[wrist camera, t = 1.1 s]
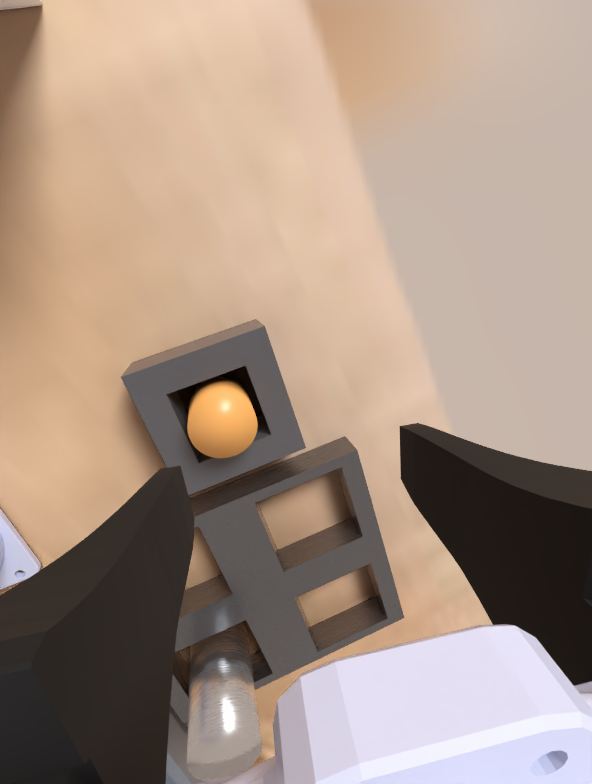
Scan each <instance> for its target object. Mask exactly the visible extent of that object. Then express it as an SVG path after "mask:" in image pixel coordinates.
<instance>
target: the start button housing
mask: <svg viewBox="0 0 592 784" xmlns="http://www.w3.org/2000/svg"><path fill="white" fill-rule="evenodd" d="M243 366H245V368H246V371H247V374H248V377H249V379H250V382H251V385H252V387H253V390H254V393H255V395H256V398H257V401H258V403H259V406H260V409H261V411H262V414H263V415H261V416H259V417H257V422H258V427H257V433H256V436H255V438H254V440H253V442H252V443H251V444H250V446H249V447H248V448H247V449H245V450H244V451H243V452H241V453H240V454H238V455H235V456H232V457H228V458H213V457H210V456H207V455H205V454H203V453H201V452H200V451H199V450H197V449H196V448H195V447H194V445H193V444H192V442H191V440H190V438H189V435H188V429H187V426H188V414H187V412H186V410H185V407H184V405H183V403H182V401H181V399H180V396H179V394H178V392H177V390H180V389H183V388H186V387H188V386H191V385H194V384H196V383H199V382H202V381H205V380H207V379H210V378H213V377H216V376H218V375H221V374H224V373H227V372H229V371H232V370H235V369H237V368H240V367H243ZM121 378H122V380H123V382H124V384H125V386H126V388H127V390H128V392H129V394H130V396H131V398H132V400H133V402H134V404H135V406H136V408H137V410H138V412H139V414H140V416H141V418H142V420H143V422H144V423H145V425H146V427H147V429H148V431H149V433H150V435H151V437H152V439H153V441H154V443H155V445H156V447H157V449H158V451H159V453H160V455H161V457H162V459H163V461H164V463H165V465H166V467H167V468H169V467H175V466H181V469H182V473H183V477H184V481H185V484H186V488H187V492H188V495H190V494H193V493H195V492H198V491H200V490H203V489H205V488H208V487H210V486H213V485H215V484H218V483H220V482H223V481H225V480H228V479H230V478H233V477H235V476H237V475H240V474H242V473H245V472H247V471H250V470H252V469H255V468H257V467H260V466H262V465H265V464H267V463H270V462H272V461H275V460H277V459H280V458H282V457H285V456H287V455H289V454H292V453H294V452H297V451H299V450H302V449H304V448H306V447H305V444H304V441H303V438H302V435H301V432H300V429H299V426H298V423H297V420H296V417H295V414H294V411H293V408H292V406H291V403H290V400H289V397H288V394H287V391H286V388H285V385H284V382H283V379H282V376H281V373H280V370H279V367H278V364H277V361H276V358H275V355H274V352H273V349H272V346H271V344H270V341H269V338H268V335H267V332H266V329H265V326H264V325H263V324H261V323H260V322H259V321H258V320H256V319H255V320H252V321H250V322H247V323H244V324H241V325H238V326H235V327H233V328H230V329H227V330H224V331H221V332H218V333H215V334H213V335H210V336H207V337H204V338H201V339H198V340H195V341H193V342H190V343H187V344H184V345H181V346H178V347H176V348H173V349H170V350H167V351H164V352H161V353H158V354H156V355H153V356H150V357H147V358H144V359H141V360H138V361H136V362H133V363H132V364H131V365H130V366H129V367H128V369H127V370H126V371H125V372H124V374H123V375H122V376H121Z"/></svg>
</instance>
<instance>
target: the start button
mask: <svg viewBox="0 0 592 784" xmlns="http://www.w3.org/2000/svg"><path fill="white" fill-rule="evenodd" d="M257 427H258V422H257V417H256V414H255V411H254V409H253V406H252V404H251V401H250V399H249V396H248V394H247V392H246V390H245V389H244V387H243V386H242V385H241V384H239V383H238V382H236V381H234V380H232V379H229V378H225V377H216V378H211V379H208V380H206V381H204V382H203V383H201V384H200V385H199V386H198V387H197V388H196V389H195V390H194V392H193V394H192V396H191V399H190V404H189V415H188V426H187V429H188V435H189V438H190V440H191V442H192V444H193V445H194V447H195V448H196V449H197V450H199V451H200V452H201V453H203V454H205V455H207V456H210V457H213V458H228V457H232V456H235V455H238V454H240V453H241V452H243V451H244V450H245V449H247V448H248V447H249V446H250V444H251V443H252V442H253V440H254V438H255V436H256V433H257Z"/></svg>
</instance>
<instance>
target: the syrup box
mask: <svg viewBox="0 0 592 784" xmlns="http://www.w3.org/2000/svg"><path fill="white" fill-rule="evenodd" d="M40 5H42V0H0V10H4V9H14V8H24V7H31V6H40Z"/></svg>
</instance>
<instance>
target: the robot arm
mask: <svg viewBox="0 0 592 784" xmlns="http://www.w3.org/2000/svg"><path fill="white" fill-rule="evenodd" d="M400 457H401V480H402V482H403V484H404V486H405V488H406V490H407V492H408V493H409V495H410V497H411V499H412V501H413V502H414V504H415V505H416V507H417V508H418V510H419V511H420V513H421V514H422V515H423V517H424V518H425V519H426V521H427V522H428V524H429V525H430V526H431V528H432V529H433V530H434V532H435V533H436V534H437V536H438V537H439V539H440V540H441V541H442V543H443V544H444V545H445V547H446V548H447V549H448V551H449V552H450V553H451V555H452V556H453V558H454V559H455V561H456V562H457V564H458V565H459V567H460V568H461V570H462V571H463V573H464V574H465V576H466V578H467V580H468V581H469V583H470V585H471V586H472V588H473V590H474V591H475V593H476V595H477V597H478V598H479V600H480V602H481V604H482V605H483V607H484V609H485V611H486V613H487V614H488V616H489V618H490V620H491V622H492V623H493V625H478V626H474V627H470V628H465V629H461V630H457V631H453V632H449V633H444V634H440V635H436V636H432V637H427V638H423V639H419V640H415V641H410V642H406V643H402V644H398V645H394V646H389V647H385V648H381V649H377V650H372V651H368V652H364V653H360V654H356V655H351V656H347V657H343V658H339V659H334V660H332V661H329V662H327V663H325V664H323V665H320V666H318V667H316V668H313V669H311V670H309V671H306V672H304V673H303V674H302V675H301V676H300V677H299V678H298V679H297V680H296V681H295V682H294V683H293V684H292V685H291V686H290V687H289V688H288V689H287V690H286V691H285V692H284V693H283V694H282V696H281V697H280V698H279V699H278V700H277V706H276V711H275V717H274V722H273V731H274V744H275V756H274V757H272V758H270V759H268V760H266V761H264V762H262V763H260V764H258V765H256V766H254V767H252V768H250V769H248V770H246V771H244V772H240V773H237V774H233V775H229V776H225V777H221V778H217V779H214V780H210V781H206V782H202V783H198V784H592V471H587V470H580V469H575V468H569V467H563V466H557V465H552V464H547V463H542V462H538V461H533V460H530V459H526V458H522V457H517V456H514V455H510V454H506V453H503V452H500V451H497V450H494V449H491V448H487V447H484V446H481V445H479V444H476V443H473V442H470V441H467V440H464V439H462V438H459V437H456V436H454V435H451V434H448V433H446V432H443V431H440V430H437V429H435V428H432V427H429V426H426V425H423V424H419V423H416V424H410V425H405V426H400ZM194 520H195V518H194V515H193V511H192V507H191V503H190V500H189V496H188V492H187V488H186V484H185V481H184V477H183V473H182V469H181V466H175V467H169V468H164V469H160V470H159V471H158V472H157V473H156V474H155V475H153V476H152V477H151V478H150V479H149V480H148V481H147V482H146V483H145V484H144V485H143V486H142V487H141V488H140V489H139V490H138V491H137V492H136V493H135V494H134V495H133V496H132V497H131V498H130V499H129V500H128V501H127V502H126V503H125V504H124V505H123V506H122V507H121V508H120V509H119V510H118V511H116V512H115V513H114V514H113V515H112V516H111V517H110V518H109V519H107V520H106V521H105V522H104V523H103V524H102V525H101V526H100V527H99V528H97V529H96V530H95V531H94V532H93V533H91V534H90V535H89V536H88V537H86V538H85V539H84V540H83V541H81V542H80V543H79V544H77V545H76V546H75V547H73V548H72V549H71V550H69V551H68V552H67V553H65V554H64V555H63V556H61V557H60V558H58V559H57V560H55V561H54V562H52V563H51V564H49V565H48V566H46V567H45V568H43V569H42V570H40V569H41V563H40V561H39V560H38V559H37V557H36V556H35V555H34V553H33V552H32V551H31V549H30V548H29V547H28V545H27V544H26V542H25V541H24V540H23V538H22V537H21V536H20V534H19V533H18V532H17V530H16V529H15V528H14V526H13V525H12V524H11V522H10V521H9V519H8V518H7V517H6V515H5V514H4V513H3V511H2V510H1V509H0V590H1V589H4V588H6V587H9V586H11V585H13V584H16V583H18V582H21V581H23V580H25V581H23V582H22V583H20V584H18V585H17V586H15V587H13V588H12V589H10V590H8V591H7V592H5V593H3V594H2V595H0V784H166V763H167V747H168V731H169V715H170V702H171V689H172V676H173V665H174V655H175V644H176V634H177V627H178V621H179V615H180V610H181V605H182V600H183V595H184V590H185V585H186V580H187V575H188V570H189V565H190V560H191V555H192V549H193V538H194ZM18 570H22V571H24V572H25V573H21V572H19V571H18ZM26 579H27V580H26Z"/></svg>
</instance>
